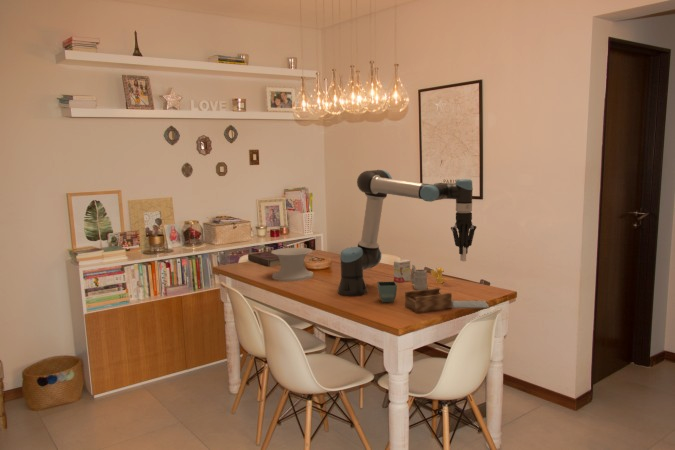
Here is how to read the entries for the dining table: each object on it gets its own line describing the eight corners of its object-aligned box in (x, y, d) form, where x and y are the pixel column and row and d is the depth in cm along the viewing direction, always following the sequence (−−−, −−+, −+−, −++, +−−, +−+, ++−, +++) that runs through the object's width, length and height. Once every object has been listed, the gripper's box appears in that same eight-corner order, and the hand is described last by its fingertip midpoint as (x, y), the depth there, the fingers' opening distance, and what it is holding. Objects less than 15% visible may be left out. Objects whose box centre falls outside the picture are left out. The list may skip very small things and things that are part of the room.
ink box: (398, 282, 304) (398, 262, 302) (393, 281, 308) (393, 260, 307) (410, 280, 308) (410, 260, 307) (405, 279, 312) (405, 259, 311)
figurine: (452, 286, 293) (452, 270, 292) (430, 284, 298) (430, 268, 297) (457, 281, 304) (457, 266, 303) (436, 279, 309) (436, 264, 308)
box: (416, 313, 245) (416, 297, 244) (405, 306, 257) (405, 291, 256) (451, 308, 251) (451, 293, 250) (438, 302, 262) (438, 287, 261)
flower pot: (394, 298, 271) (394, 281, 270) (397, 303, 262) (397, 285, 261) (377, 299, 271) (377, 281, 270) (379, 304, 262) (379, 286, 261)
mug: (419, 291, 285) (419, 268, 283) (405, 286, 295) (405, 265, 293) (430, 288, 289) (430, 266, 287) (416, 284, 299) (416, 263, 297)
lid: (449, 309, 252) (449, 302, 252) (447, 303, 262) (447, 296, 262) (488, 309, 250) (489, 302, 250) (485, 303, 260) (485, 296, 260)
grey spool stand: (265, 280, 319) (264, 254, 317) (281, 271, 343) (281, 247, 341) (304, 282, 312) (303, 255, 309) (319, 272, 335) (318, 248, 333)
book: (297, 262, 370) (296, 255, 370) (268, 267, 358) (267, 260, 357) (275, 256, 395) (275, 250, 395) (248, 260, 382) (247, 254, 382)
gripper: (455, 213, 250) (455, 263, 253) (480, 212, 254) (479, 261, 257) (447, 211, 257) (447, 260, 260) (471, 210, 261) (470, 258, 264)
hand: (463, 260), depth 259 cm, fingers closed
